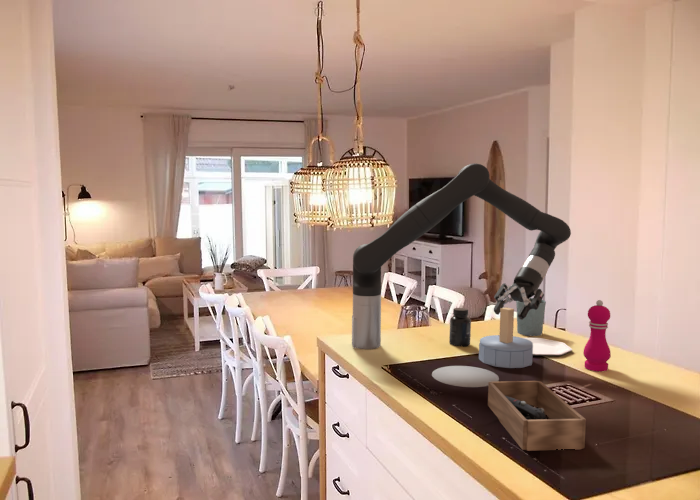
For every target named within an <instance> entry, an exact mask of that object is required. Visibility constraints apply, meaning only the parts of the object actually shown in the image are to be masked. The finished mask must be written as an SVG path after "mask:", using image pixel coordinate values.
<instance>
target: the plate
mask: <svg viewBox="0 0 700 500" xmlns="http://www.w3.org/2000/svg"><path fill="white" fill-rule="evenodd" d="M523 338H524V339H527V340H529V341H531V342H532V343H533V356H539V357H540V356H542V357H544V356H546V357H547V356H548V357H550V356H552V357H559V356H564V355H566V354H569V353H571V352H573V348H571V346H569V345H567V344H566V343H565V342H562V341H558V340H553V339H547V338H544V337H523Z"/></svg>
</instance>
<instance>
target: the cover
mask: <svg viewBox="0 0 700 500" xmlns="http://www.w3.org/2000/svg"><path fill="white" fill-rule="evenodd" d="M514 317H515V308H511V307H505V306H504V307H503V308H500V313H499V335H498V334H495V335H486V336H483V337H481V338H479V345H478V360H479V361H481V362H482V363H483V364H485V365H489V366H493V367H496V368H497V367H498V368H506V369H515V368H516V369H521V368H525V367H529V366H532V364H533V356H534V355H533V343H532V342H531V341H529V340H527V339H524V338H525V337H520V336H514V319H515V318H514Z"/></svg>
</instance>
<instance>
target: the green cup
mask: <svg viewBox="0 0 700 500" xmlns="http://www.w3.org/2000/svg"><path fill="white" fill-rule="evenodd" d="M532 300H533V297H531V298H530V302H532ZM515 303H516V305H515V306H516V328H517V329H516V333H518V334H519V335H521V336H526V337H540V336H542V335H543V329H544V326H543V325H544V319H545V309H546V304H547V301H546V300H544V299H542V301H541V303H540V305H539V307H538V309H537V310H534V309H531V310H529V312H528V314H527V315H526V317H525V318H523V320H521V319H519V317H518V313H519V312H520V310H521V308H522V306H525V305H524V301H523V302H520V301H515Z"/></svg>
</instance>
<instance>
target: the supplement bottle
mask: <svg viewBox="0 0 700 500" xmlns="http://www.w3.org/2000/svg"><path fill="white" fill-rule="evenodd" d="M452 311H453V313H452V315H453V316H451V317H450V319H449V338H448V339H449V345H451V346H454V347H463V348H466V347H469V346H471V332H472V331H471V328H472V326H471V325H472V319H471V318H470V317H469V309H468V308H465V307H454V308H453V310H452Z"/></svg>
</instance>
